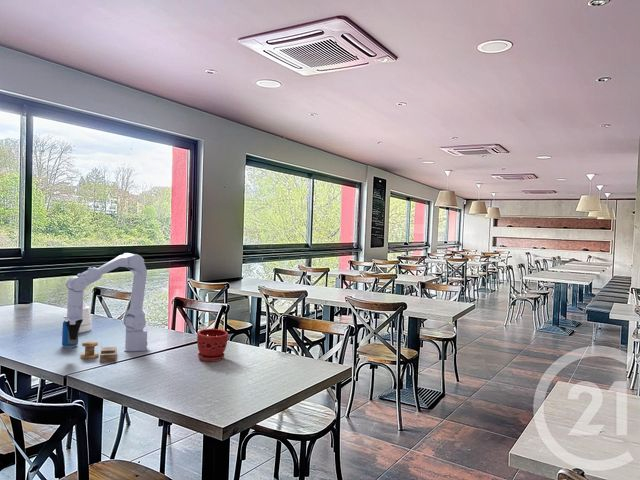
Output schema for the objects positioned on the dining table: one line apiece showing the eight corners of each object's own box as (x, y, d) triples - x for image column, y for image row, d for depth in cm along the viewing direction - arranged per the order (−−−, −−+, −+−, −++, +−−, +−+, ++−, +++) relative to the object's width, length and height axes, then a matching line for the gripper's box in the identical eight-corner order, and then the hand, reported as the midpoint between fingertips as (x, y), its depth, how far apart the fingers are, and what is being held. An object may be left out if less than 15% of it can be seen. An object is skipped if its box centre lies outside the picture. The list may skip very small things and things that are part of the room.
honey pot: (96, 329, 249) (97, 295, 248) (72, 333, 238) (73, 298, 237) (82, 325, 255) (83, 292, 255) (58, 329, 245) (59, 295, 244)
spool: (99, 354, 206) (99, 340, 206) (97, 358, 200) (98, 344, 200) (81, 354, 204) (81, 340, 204) (79, 359, 197) (80, 345, 197)
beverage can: (71, 348, 212) (72, 322, 212) (58, 347, 213) (59, 320, 213) (81, 345, 218) (82, 319, 218) (68, 343, 220) (69, 318, 219)
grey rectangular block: (78, 341, 199) (78, 325, 198) (77, 343, 195) (77, 327, 195) (68, 341, 197) (69, 326, 197) (67, 343, 194) (68, 327, 194)
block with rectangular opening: (116, 353, 208) (116, 346, 208) (115, 361, 197) (115, 354, 197) (101, 354, 206) (101, 347, 206) (99, 362, 195) (100, 355, 195)
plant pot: (190, 360, 205) (191, 332, 205) (207, 353, 217) (209, 327, 217) (215, 365, 200) (216, 336, 200) (232, 357, 213) (233, 331, 212)
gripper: (66, 302, 201) (65, 334, 202) (61, 309, 188) (60, 343, 188) (85, 302, 204) (83, 333, 204) (81, 308, 190) (80, 342, 191)
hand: (73, 338), depth 196 cm, fingers closed on grey rectangular block, 3 cm apart
